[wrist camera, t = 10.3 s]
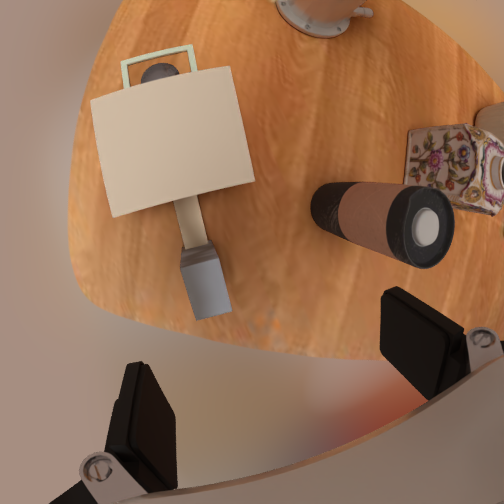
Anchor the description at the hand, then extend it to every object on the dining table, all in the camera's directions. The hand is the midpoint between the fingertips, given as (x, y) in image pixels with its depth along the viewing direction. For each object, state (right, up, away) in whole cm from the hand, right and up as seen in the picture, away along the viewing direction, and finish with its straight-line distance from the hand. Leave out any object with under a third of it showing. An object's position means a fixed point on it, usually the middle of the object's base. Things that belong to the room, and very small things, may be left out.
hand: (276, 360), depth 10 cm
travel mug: (+11, +11, +31) cm, 35 cm away
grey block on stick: (-9, +10, +27) cm, 30 cm away
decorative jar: (+30, +19, +34) cm, 49 cm away
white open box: (-11, +17, +24) cm, 32 cm away
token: (-13, +26, +22) cm, 37 cm away
